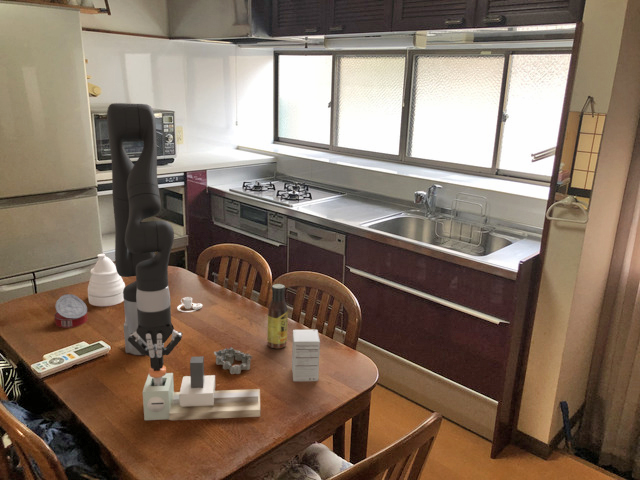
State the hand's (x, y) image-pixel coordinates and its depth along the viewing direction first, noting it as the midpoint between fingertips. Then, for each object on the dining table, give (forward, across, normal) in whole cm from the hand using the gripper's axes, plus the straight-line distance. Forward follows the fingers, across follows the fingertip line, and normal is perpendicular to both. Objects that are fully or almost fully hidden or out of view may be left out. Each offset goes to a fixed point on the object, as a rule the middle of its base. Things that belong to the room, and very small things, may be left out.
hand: (157, 369), depth 127 cm
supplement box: (+12, +38, +14) cm, 42 cm away
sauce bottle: (+12, +31, +32) cm, 46 cm away
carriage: (+9, +10, 0) cm, 13 cm away
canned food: (+12, -37, +52) cm, 65 cm away
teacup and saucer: (+12, +1, +58) cm, 60 cm away
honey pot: (+12, -30, +70) cm, 77 cm away
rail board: (+12, +14, 0) cm, 18 cm away
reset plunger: (+6, 0, 0) cm, 6 cm away
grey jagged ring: (+12, +17, +21) cm, 30 cm away
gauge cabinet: (+12, 0, 0) cm, 12 cm away
